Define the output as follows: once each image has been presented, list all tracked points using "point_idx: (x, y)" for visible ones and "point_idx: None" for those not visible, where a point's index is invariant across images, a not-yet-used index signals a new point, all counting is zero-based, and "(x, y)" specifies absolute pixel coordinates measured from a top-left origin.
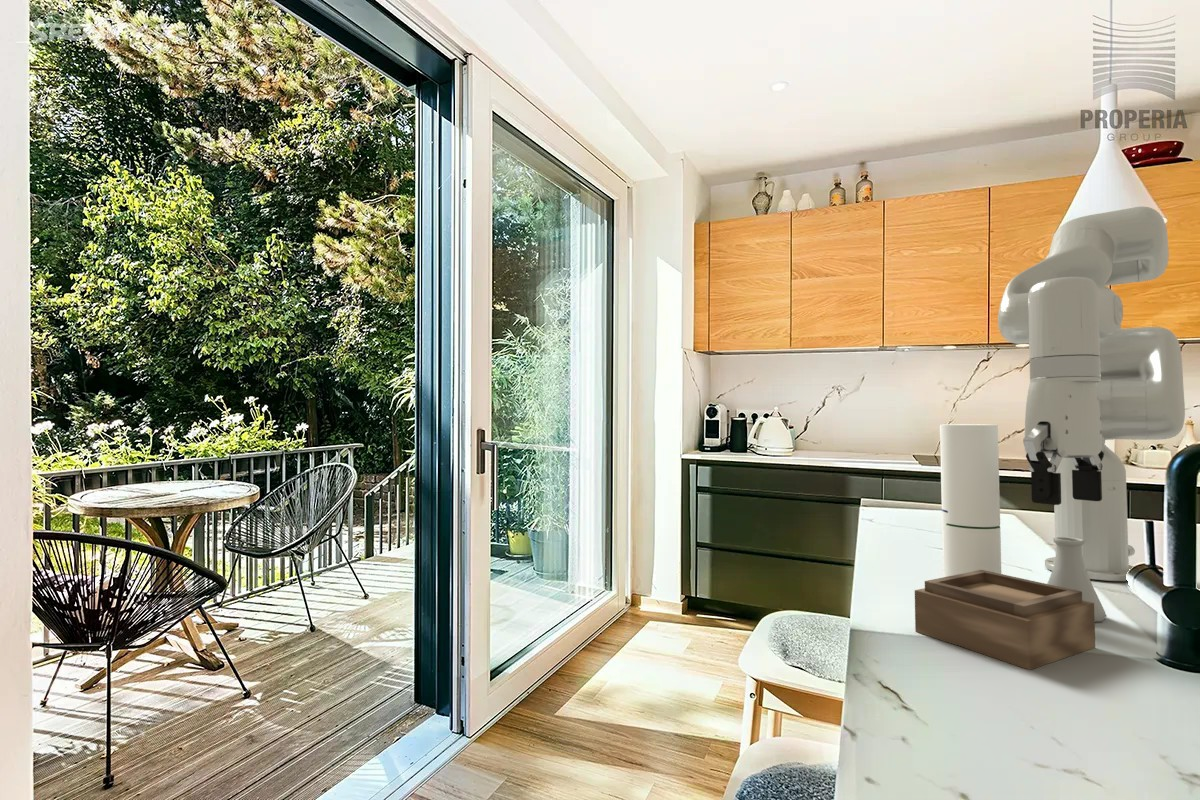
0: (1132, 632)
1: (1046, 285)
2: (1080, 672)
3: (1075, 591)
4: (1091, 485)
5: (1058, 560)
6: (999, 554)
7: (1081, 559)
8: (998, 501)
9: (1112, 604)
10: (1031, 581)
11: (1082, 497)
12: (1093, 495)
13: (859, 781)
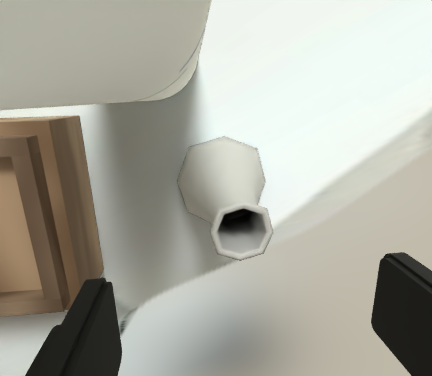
0: (213, 256)
1: None
2: None
3: (53, 307)
4: (412, 354)
5: (213, 201)
6: (151, 99)
7: (237, 235)
8: (126, 98)
9: (337, 177)
10: (41, 241)
11: (380, 288)
12: (384, 327)
13: None
